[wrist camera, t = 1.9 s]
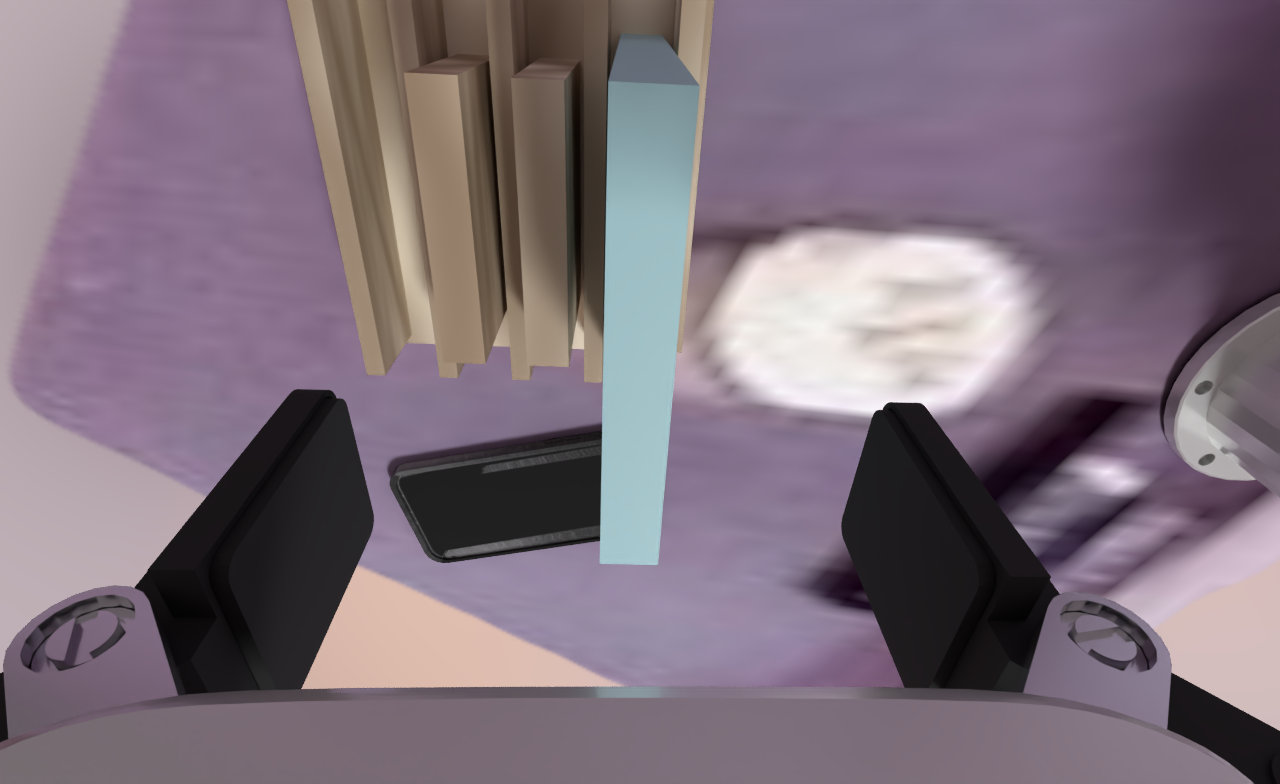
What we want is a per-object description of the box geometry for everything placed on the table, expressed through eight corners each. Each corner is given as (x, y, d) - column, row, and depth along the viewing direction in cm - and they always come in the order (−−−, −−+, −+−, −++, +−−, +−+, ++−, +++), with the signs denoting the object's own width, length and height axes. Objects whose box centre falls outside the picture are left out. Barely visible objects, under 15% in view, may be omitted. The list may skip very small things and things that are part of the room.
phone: (659, 532, 39) (431, 565, 41) (658, 519, 40) (435, 552, 42) (635, 432, 35) (382, 473, 37) (635, 420, 36) (388, 461, 38)
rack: (712, -23, 25) (730, -27, 20) (679, 341, 33) (687, 394, 29) (322, -45, 24) (253, -54, 20) (391, 331, 33) (353, 383, 28)
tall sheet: (662, 35, 25) (700, 85, 11) (646, 315, 31) (658, 564, 17) (621, 33, 24) (608, 81, 11) (613, 314, 31) (600, 563, 17)
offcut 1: (498, 55, 25) (457, 75, 19) (514, 291, 30) (485, 363, 24) (457, 53, 25) (403, 72, 19) (480, 290, 30) (443, 362, 24)
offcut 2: (580, 60, 25) (564, 80, 19) (580, 294, 30) (568, 366, 24) (539, 57, 25) (511, 77, 19) (547, 292, 30) (527, 365, 24)
